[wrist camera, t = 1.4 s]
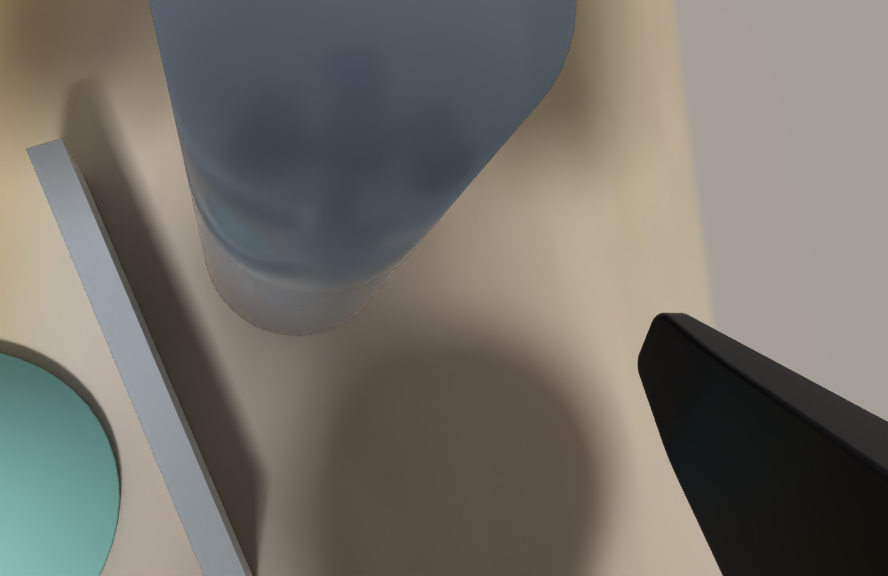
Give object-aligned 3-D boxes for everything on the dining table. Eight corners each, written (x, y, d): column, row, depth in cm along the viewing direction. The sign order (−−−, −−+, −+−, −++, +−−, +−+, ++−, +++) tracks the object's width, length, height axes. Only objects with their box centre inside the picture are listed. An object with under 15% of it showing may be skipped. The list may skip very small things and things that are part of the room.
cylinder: (413, 294, 21) (642, 88, 9) (248, 364, 19) (251, 228, 7) (343, 141, 22) (470, -255, 9) (175, 197, 20) (63, -198, 8)
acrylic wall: (256, 585, 18) (258, 605, 16) (226, 600, 18) (223, 624, 16) (83, 175, 19) (60, 138, 17) (53, 185, 19) (25, 148, 17)
